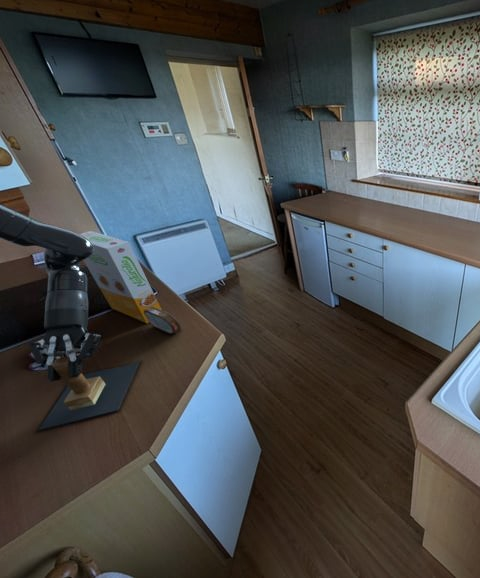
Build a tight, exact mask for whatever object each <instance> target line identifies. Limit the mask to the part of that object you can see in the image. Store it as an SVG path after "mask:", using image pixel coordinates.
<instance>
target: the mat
mask: <svg viewBox="0 0 480 578" xmlns="http://www.w3.org/2000/svg"><path fill="white" fill-rule="evenodd" d="M139 365H140V362H135V363H134V362H133V363H130V364H129V363H128V364H125V365H121V366H116V367H111V368H106V369H102V370H96V371H92V372H86V373H82V375H83V376H84V377H85V378H86V379H90V378H95V377H99V376H100V377H101V379H102V380H103V381H104V383H105V386H104V388H103V390H102V392H101V394H100V396H99V397H98V399H97V401H96V403H95V405H91V406H86V407H82V408H78V409H74V410H70V409H69V408H68V407H67V406H66V405H65V403H64V401H65V399H66V398H67V396H68V395H69V393H70V391H71V390H72V389H71V388H70V387H69V386H68V385H67V386H66V387H65V389H64V390H63V392H62V393H61V395H60V397H59V398H58V400H57V401H56V403H55V405H53V407H52V409H51V410H50V412H49V413H48V414H47V416H46V418H45V419H44V420H43V422H42V424H41V425H40V426H39V428H38V431H39V432H40V431H44V430H49V429H52V428H55V427H60V426H63V425H68V424H72V423H75V422H80V421H84V420H88V419H91V418H96V417H100V416H104V415H107V414H111V413H115V412H118V411H119V410H120V408H121V405H122V403H123V401H124V399H125V397H126V394H127V391H128V389H129V387H130V385H131V383H132V380H133V378H134V377H135V374H136V372H137V370H138V367H139Z"/></svg>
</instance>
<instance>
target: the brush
mask: <svg viewBox="0 0 480 578" xmlns="http://www.w3.org/2000/svg"><path fill="white" fill-rule="evenodd" d="M69 363H71V361H70V357H69V356H62V357H61V358H59V359H57V360H55V361H53V362H52V364H51V365H52V367H53V368H54V369H55V370H56V371H57V373H58V374H59V375H60V376H61V379H62V380H63V381H64V382H65V383H66V385H67V386H69V387H70V388H71V389H72V390H71V391H70V393H69V395H68V396H67V398H66V399H65V401H64V403H65V405H66V406H67V407H68V408H69V409H70V410H74V409H78V408H82V407H86V406H91V405H95V403H96V401H97V399H98V397H99V396H100V394H101V392H102V390H103V388H104V386H105V383H104V381H103V380H102V379H101V377H100V376H99V377H95V378H90V379H86V378H85V377H84V376H83V375H82V374H83V373H82V372H81V374H80V375H79V377H76V378H69Z"/></svg>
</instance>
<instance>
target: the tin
mask: <svg viewBox="0 0 480 578" xmlns="http://www.w3.org/2000/svg"><path fill="white" fill-rule="evenodd" d="M144 314H145V316H146V317H147V319H148V321H149V323H150V324H151V325H152V326H153V327H154V328H157V329H158V330H161V331H163V332H165V333H168V334H170V335H174V334H176V333H177V332H179V331H181V328H182V327H181V325H180V323H179V322H178V319H176V317H174V316H173V315H172V314H171V313H169V312H167V311H165V310H163V309H161V310H160V309H158V308H155V307H153V306H151V307H150V308H148V309H146V310H145V311H144Z"/></svg>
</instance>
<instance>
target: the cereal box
mask: <svg viewBox="0 0 480 578" xmlns="http://www.w3.org/2000/svg"><path fill="white" fill-rule="evenodd" d="M79 234H80V235H82V236H84V237H85V238H87V239H88V240H89V241H90V242H91V243H92V245H93V247H94V252H93V254H92V255H91V256H90V257H88V258H87V259H84V260H82V261H83V263H84V264H85V266H86V267H87V270H88V271H89V273H90V274H91V276H92V278H93V280H94V281H95V283H96V285H97V286H98V288H99V290H100V292H101V293H102V295H103V296H104V298H105V300H106V301H107V303H108V305H109V307H110V309H111V310H112V309H113V310H114V311H117V312H120V313H122V314H123V315H126V316H129V317H131V318H133V319H135V320H138V321H140V322H142V323H145V324H149V323H150V322H149V321H148V319H147V317H146V316H145V314H144V311H145V310H146V309H148V308H150V307H151V306H153V307H155V308H158V309H160V310H162V308H161V305H160V303H159V301H158V299H157V297H156V295H155V292H154V290H153V288H152V287H151V285H150V282H149V281H148V279H147V277H146V274H145V272H144V270H143V268H142V266H141V264H140V262H139V260H138V257H137V255H136V253H135V252H134V249H133V247H132V244H131V243H130V242H129V241H127V240H123V239H120V238H117V237H113V236H110V235H108V234H107V235H106V234H104V233H100V232H96V231H93V230H89V231H85V232H83V233H79Z"/></svg>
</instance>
